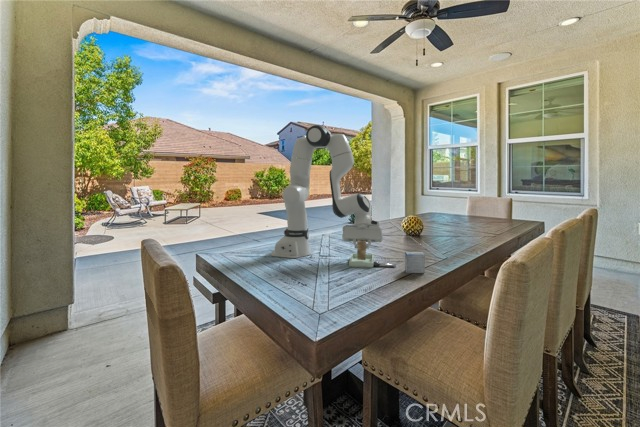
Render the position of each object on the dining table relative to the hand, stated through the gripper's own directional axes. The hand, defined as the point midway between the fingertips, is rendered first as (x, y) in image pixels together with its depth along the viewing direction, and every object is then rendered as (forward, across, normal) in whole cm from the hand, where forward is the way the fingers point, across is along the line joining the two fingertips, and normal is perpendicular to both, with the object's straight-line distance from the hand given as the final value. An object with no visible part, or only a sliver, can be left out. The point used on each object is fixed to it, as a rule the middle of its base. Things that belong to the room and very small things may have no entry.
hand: (361, 248), depth 151 cm
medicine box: (+13, +24, -3) cm, 28 cm away
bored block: (+4, 0, +3) cm, 5 cm away
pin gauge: (+9, +11, +1) cm, 14 cm away
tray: (+5, 0, +5) cm, 7 cm away
